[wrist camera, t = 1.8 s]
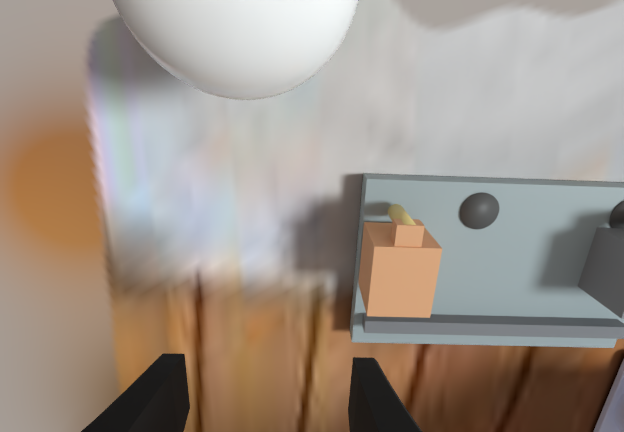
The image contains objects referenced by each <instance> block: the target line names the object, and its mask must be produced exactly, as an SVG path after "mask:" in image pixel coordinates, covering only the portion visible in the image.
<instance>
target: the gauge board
mask: <svg viewBox="0 0 624 432" xmlns="http://www.w3.org/2000/svg"><path fill="white" fill-rule="evenodd" d="M393 204H399V205H401V206H402V207H403V208H404V210H405V211H406V212H407V214H408V215H409V216H410V217H411V219H419V220H420V221H421V222H422V223H423V224H424V226H425V228H426V229H427V231H428V232H429V233H430V234H431V235H432V237H433V238H434V239H435V240H436V241H437V243H438V244H439V245H440V246H441V247H442V254H441V260H440V265H439V271H438V277H437V282H436V288H435V293H434V299H433V305H432V310H431V316H430V318H419V317H376V316H367V314H366V311H365V307H364V303H363V299H362V295H361V291H360V288H359V284H358V281H359V271H360V260H361V249H362V239H363V228H364V222H379V223H392V220H391V219H390V217H389V215H388V208H389V207H390V206H391V205H393ZM623 323H624V182H598V181H568V180H539V179H510V178H481V177H451V176H422V175H393V174H363V184H362V195H361V207H360V218H359V229H358V241H357V252H356V263H355V274H354V286H353V297H352V308H351V319H350V334H351V340H352V342H368V343H414V344H459V345H505V346H551V347H597V348H614V346H615V343H616V341H617V339H624V324H623Z"/></svg>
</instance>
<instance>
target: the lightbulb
mask: <svg viewBox="0 0 624 432" xmlns="http://www.w3.org/2000/svg"><path fill="white" fill-rule="evenodd" d="M113 1H114V4H115V6H116V8H117V10H118V12H119V14H120V16H121V17H122V19H123V21H124V22H125V24H126V26H127V27H128V29H129V30H130V32H131V33H132V35H133V36H134V37H135V39H136V40H137V41H138V43H139V44H140V45H141V46H142V48H143V49H144V50H145V51H146V52H147V53H148V54H149V55H150V56H151V57H152V58H153V59H154V60H155V61H156V62H157V63H158V64H159V65H160V66H161V67H163V68H164V69H165V70H166V71H167V72H169V73H170V74H172V75H173V76H174V77H176V78H177V79H179V80H180V81H182V82H184V83H186V84H187V85H189V86H191V87H193V88H195V89H198V90H200V91H202V92H205V93H208V94H211V95H214V96H218V97H223V98H228V99H235V100H256V99H264V98H269V97H273V96H277V95H280V94H283V93H285V92H288V91H290V90H292V89H294V88H296V87H298V86H300V85H301V84H303V83H305V82H306V81H307V80H309V79H310V78H311V77H313V76H314V75H315V74H316V73H317V72H319V71H320V70H321V69H322V68H323V67H324V66H325V65H326V64H327V62H328V61H329V60H330V59H331V58H332V56H333V55H334V54H335V52H336V51H337V49H338V48H339V46H340V45H341V43H342V41H343V40H344V38H345V36H346V34H347V32H348V30H349V28H350V25H351V23H352V20H353V18H354V15H355V12H356V8H357V5H358V1H359V0H113Z"/></svg>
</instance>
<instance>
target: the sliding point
mask: <svg viewBox="0 0 624 432" xmlns="http://www.w3.org/2000/svg"><path fill="white" fill-rule="evenodd" d="M388 215H389V217H390V219H391V220H392V223H379V222H364V228H363V239H362V249H361V260H360V271H359V281H358V284H359V288H360V291H361V295H362V299H363V303H364V307H365V311H366V314H367V316H376V317H419V318H430V316H431V310H432V305H433V299H434V293H435V288H436V282H437V277H438V271H439V265H440V260H441V254H442V247H441V246H440V245H439V244H438V243H437V241H436V240H435V239H434V238H433V237H432V235H431V234H430V233H429V232H428V231H427V229H426V228H425V226H424V224H423V223H422V222H421V221H420V220H419V219H411V217H410V216H409V215H408V214H407V212H406V211H405V210H404V208H403V207H402V206H401V205H399V204H393V205H391V206H390V207H389V208H388Z"/></svg>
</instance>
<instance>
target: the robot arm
mask: <svg viewBox="0 0 624 432" xmlns="http://www.w3.org/2000/svg"><path fill="white" fill-rule="evenodd" d="M189 409H190V404H189V394H188V385H187V375H186V365H185V356H184V354H162V355H161V356H160V357H159V358H158V359H157V360H156V361H155V362H154V363H153V364H152V365H151V366H150V367H149V368H148V369H147V370H146V371H145V372H144V373H143V374H142V375H141V376H140V377H139V378H138V379H137V380H136V381H135V382H134V383H133V384H132V385H131V386H130V387H129V388H128V389H127V390H126V391H125V392H124V393H123V394H121V395H120V396H119V397H118V398H117V399H116V400H115V401H114V402H113V403H112V404H111V405H110V406H109V407H108V408H107V409H106V410H105V411H104V412H102V414H100V415H99V416H98V417H97V418H96V419H95V420H94V421H93V422H92V423H91V424H89V425H88V426H87V427H86V428H85V429H84V430H82V431H81V432H183V431H184V428H185V424H186V420H187V416H188V413H189ZM348 414H349V426H350V432H422V431H421V429H420V428H419V427H418V425H417V424H416V422H415V421H414V419H413V418H412V416H411V415H410V414H409V412H408V411H407V409H406V408H405V406H404V405H403V403H402V402H401V400H400V399H399V397H398V396H397V394H396V393H395V391H394V389H393V388H392V386H391V385H390V383H389V381H388V380H387V378H386V376H385V375H384V373H383V371H382V369H381V368H380V366H379V364H378V362H377V361H376V360H375V359H374V358H355V357H353V365H352V376H351V386H350V396H349V407H348ZM593 432H624V359H623V362H622V364H621V366H620V369H619V371H618V374H617V376H616V378H615V381H614V383H613V386H612V388H611V390H610V393H609V395H608V397H607V400H606V402H605V405H604V407H603V409H602V412H601V414H600V417H599V419H598V421H597V424H596V426H595V429H594V431H593Z"/></svg>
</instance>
